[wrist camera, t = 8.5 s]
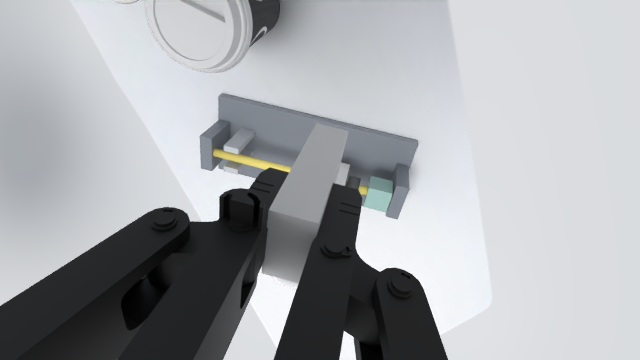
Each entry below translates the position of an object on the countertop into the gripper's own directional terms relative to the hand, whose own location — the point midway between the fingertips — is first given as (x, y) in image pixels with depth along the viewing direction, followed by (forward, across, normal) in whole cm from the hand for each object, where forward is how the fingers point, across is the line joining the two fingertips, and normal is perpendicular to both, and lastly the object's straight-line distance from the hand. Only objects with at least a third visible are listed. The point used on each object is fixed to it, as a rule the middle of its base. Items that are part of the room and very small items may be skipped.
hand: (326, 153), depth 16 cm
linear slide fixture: (+29, -5, -17) cm, 34 cm away
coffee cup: (+30, -15, +1) cm, 33 cm away
